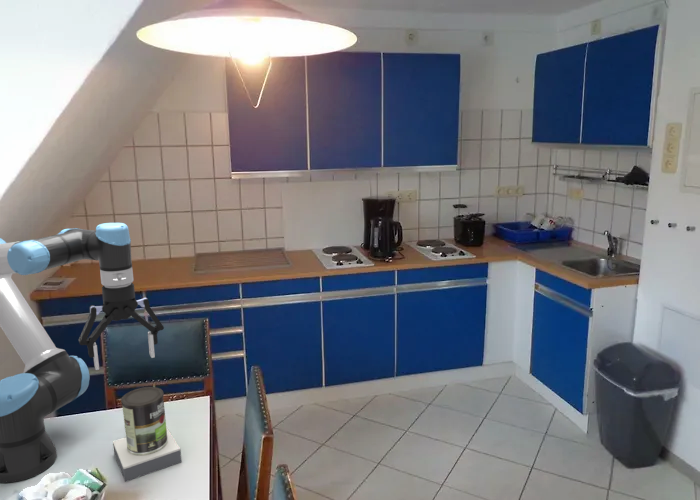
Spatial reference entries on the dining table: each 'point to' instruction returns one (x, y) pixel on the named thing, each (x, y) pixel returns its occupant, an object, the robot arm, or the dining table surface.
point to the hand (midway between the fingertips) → (125, 361)
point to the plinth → (145, 458)
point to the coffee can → (144, 420)
